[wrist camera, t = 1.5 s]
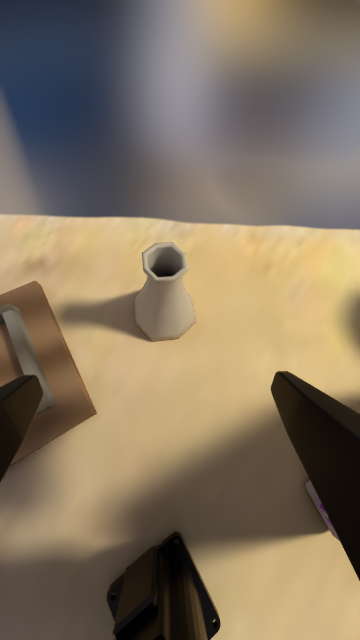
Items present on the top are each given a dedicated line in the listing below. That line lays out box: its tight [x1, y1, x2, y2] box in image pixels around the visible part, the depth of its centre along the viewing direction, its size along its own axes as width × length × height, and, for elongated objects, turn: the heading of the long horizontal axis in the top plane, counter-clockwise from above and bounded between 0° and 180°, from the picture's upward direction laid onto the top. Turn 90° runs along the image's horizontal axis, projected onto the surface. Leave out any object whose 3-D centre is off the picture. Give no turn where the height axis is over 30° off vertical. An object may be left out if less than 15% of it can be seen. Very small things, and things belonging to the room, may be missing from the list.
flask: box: [134, 242, 196, 341], centre depth 18 cm, size 7×7×10 cm
